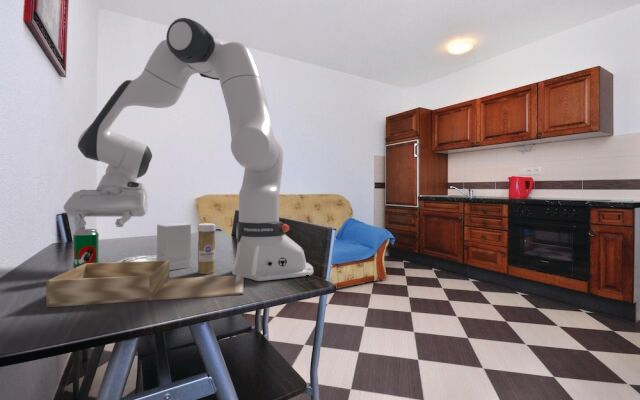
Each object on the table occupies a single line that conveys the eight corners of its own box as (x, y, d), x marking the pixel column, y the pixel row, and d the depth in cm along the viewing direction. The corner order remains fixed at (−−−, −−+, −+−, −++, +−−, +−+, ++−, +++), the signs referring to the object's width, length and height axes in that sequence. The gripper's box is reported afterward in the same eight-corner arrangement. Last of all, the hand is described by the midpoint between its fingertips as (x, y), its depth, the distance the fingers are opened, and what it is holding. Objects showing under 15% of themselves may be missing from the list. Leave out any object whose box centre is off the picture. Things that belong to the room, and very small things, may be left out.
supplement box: (191, 267, 87) (191, 224, 86) (164, 271, 81) (164, 226, 81) (182, 262, 92) (182, 222, 92) (156, 266, 87) (156, 223, 86)
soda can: (103, 274, 77) (103, 229, 77) (86, 280, 72) (86, 231, 72) (85, 273, 78) (85, 228, 78) (67, 279, 73) (67, 231, 73)
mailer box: (243, 276, 78) (243, 257, 78) (243, 294, 64) (243, 271, 64) (85, 284, 69) (85, 263, 69) (46, 307, 56) (46, 280, 55)
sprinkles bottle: (202, 275, 78) (202, 225, 78) (194, 272, 81) (195, 223, 81) (218, 272, 81) (218, 224, 81) (210, 269, 85) (210, 222, 84)
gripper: (71, 182, 86) (49, 218, 77) (148, 184, 91) (137, 218, 82) (79, 197, 91) (60, 233, 81) (153, 198, 96) (142, 232, 86)
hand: (99, 225), depth 82 cm, fingers open, 8 cm apart
